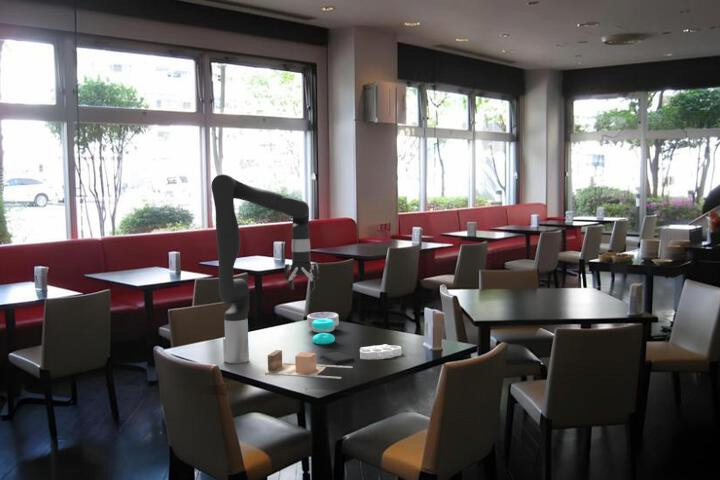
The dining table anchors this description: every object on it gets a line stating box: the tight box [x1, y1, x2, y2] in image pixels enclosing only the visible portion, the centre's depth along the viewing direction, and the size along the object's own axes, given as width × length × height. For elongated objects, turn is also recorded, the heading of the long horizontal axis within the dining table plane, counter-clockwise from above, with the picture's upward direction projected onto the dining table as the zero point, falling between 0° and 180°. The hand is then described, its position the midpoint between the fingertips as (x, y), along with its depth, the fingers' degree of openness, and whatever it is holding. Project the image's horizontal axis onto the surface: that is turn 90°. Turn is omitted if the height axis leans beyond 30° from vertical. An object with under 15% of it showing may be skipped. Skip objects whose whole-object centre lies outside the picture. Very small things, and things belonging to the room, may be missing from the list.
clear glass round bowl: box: [306, 311, 340, 334], centre depth 317 cm, size 15×15×8 cm
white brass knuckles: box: [359, 343, 402, 360], centre depth 269 cm, size 3×18×15 cm
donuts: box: [312, 319, 336, 345], centre depth 293 cm, size 10×10×10 cm
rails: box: [268, 362, 353, 380], centre depth 244 cm, size 28×15×2 cm, turn 74°
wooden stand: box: [264, 349, 327, 376], centre depth 246 cm, size 20×12×7 cm, turn 74°
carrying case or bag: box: [319, 351, 356, 366], centre depth 260 cm, size 11×3×15 cm
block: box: [294, 351, 317, 373], centre depth 245 cm, size 6×6×6 cm
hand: (302, 289), depth 265 cm, fingers open, 8 cm apart
